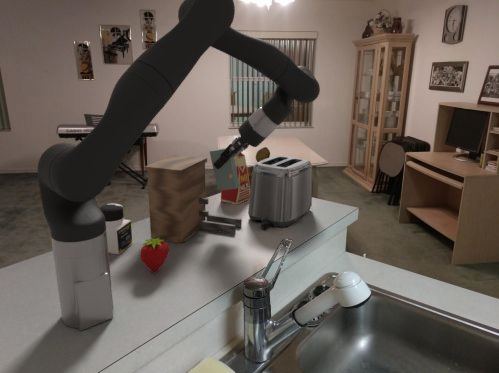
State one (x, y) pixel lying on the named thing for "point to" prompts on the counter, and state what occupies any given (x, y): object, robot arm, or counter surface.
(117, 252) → the medicine bottle
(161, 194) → the wooden cabinet
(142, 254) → the strawberry
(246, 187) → the milk carton
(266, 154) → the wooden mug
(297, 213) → the toaster
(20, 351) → the counter surface
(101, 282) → the robot arm
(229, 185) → the gray-green rectangular block
